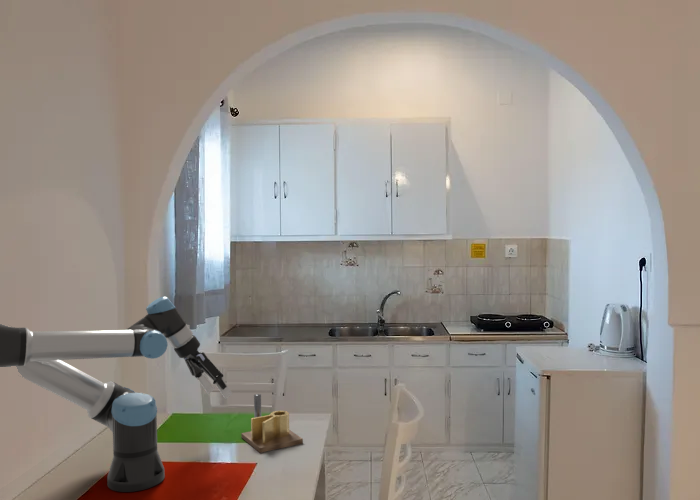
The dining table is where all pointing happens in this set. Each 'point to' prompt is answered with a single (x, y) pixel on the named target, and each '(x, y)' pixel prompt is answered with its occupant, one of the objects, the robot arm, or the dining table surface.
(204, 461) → the dining table surface
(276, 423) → the brass hinge
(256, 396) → the hinge pin
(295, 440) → the walnut board
